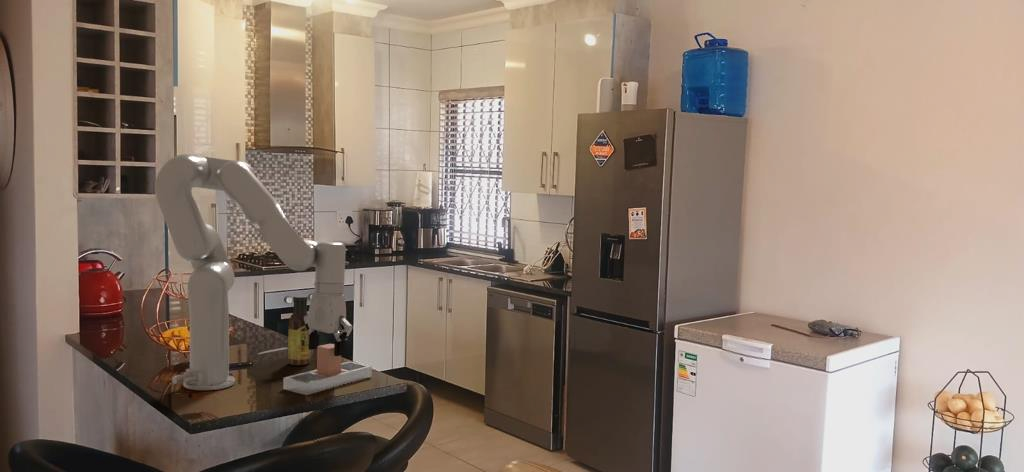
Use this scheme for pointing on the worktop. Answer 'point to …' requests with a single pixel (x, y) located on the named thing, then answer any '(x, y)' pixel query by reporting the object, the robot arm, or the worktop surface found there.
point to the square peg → (328, 360)
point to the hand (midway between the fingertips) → (326, 352)
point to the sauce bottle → (298, 333)
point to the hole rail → (326, 378)
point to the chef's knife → (274, 350)
